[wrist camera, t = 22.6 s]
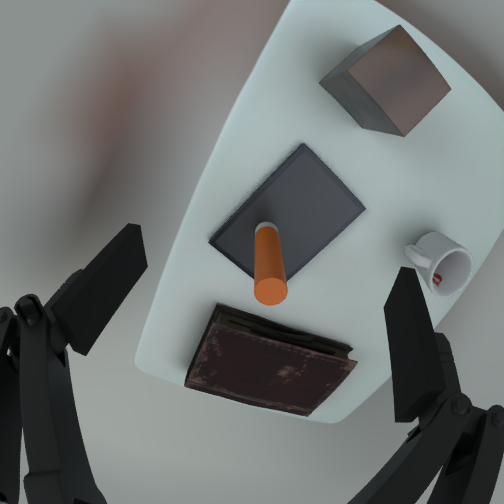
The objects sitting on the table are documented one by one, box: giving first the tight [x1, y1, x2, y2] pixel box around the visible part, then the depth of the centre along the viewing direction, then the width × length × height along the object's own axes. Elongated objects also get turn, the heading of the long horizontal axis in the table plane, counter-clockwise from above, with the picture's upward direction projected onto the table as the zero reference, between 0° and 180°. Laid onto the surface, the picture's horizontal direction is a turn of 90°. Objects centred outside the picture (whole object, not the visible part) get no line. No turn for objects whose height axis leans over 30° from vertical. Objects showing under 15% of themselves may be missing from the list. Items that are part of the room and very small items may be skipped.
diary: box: [184, 303, 358, 417], centre depth 49 cm, size 19×25×5 cm
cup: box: [404, 232, 473, 298], centre depth 38 cm, size 11×8×8 cm
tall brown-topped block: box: [319, 25, 451, 137], centre depth 26 cm, size 8×8×12 cm
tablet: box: [208, 143, 366, 282], centre depth 40 cm, size 12×18×1 cm, turn 137°
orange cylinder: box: [254, 222, 288, 305], centre depth 33 cm, size 3×3×14 cm
